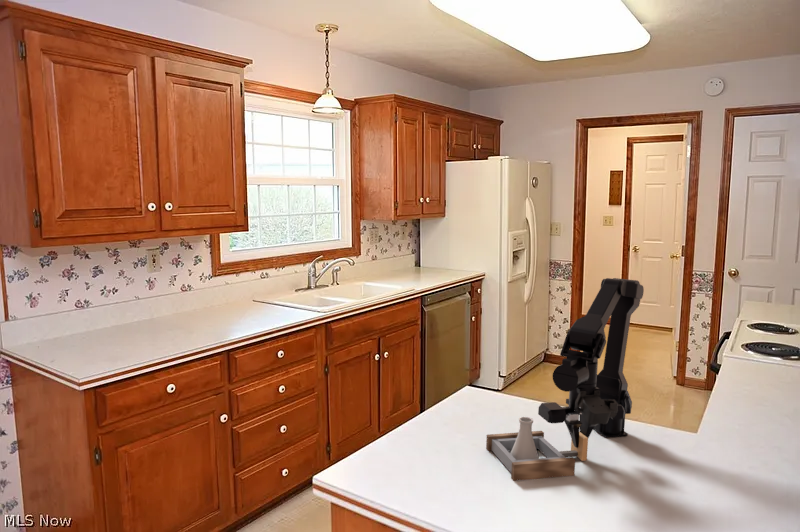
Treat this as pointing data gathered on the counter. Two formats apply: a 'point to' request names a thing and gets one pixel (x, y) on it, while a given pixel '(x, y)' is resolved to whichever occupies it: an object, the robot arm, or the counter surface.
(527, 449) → the flask
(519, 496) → the counter surface
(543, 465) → the lane rails
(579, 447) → the sliding frame
